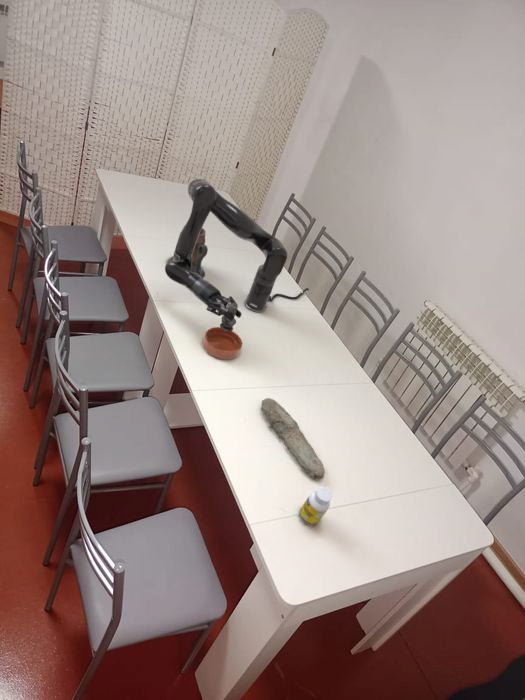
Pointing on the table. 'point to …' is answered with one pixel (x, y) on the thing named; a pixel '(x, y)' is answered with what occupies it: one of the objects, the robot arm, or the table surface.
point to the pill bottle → (315, 506)
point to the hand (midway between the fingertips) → (236, 317)
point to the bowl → (222, 343)
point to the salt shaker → (226, 323)
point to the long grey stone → (293, 438)
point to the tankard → (196, 254)
